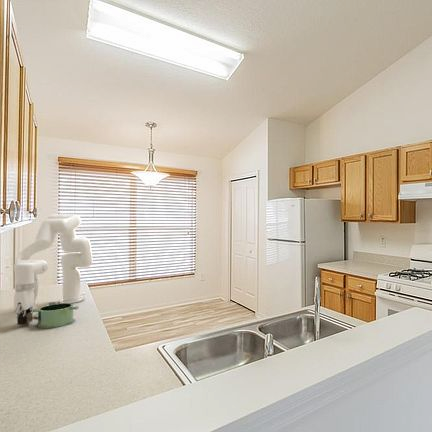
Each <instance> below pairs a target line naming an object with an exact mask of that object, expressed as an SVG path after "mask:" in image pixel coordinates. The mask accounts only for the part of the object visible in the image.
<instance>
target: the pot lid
mask: <svg viewBox="0 0 432 432" xmlns="http://www.w3.org/2000/svg"><path fill="white" fill-rule="evenodd" d="M51 304H57V303H56V301H52V302H48V305H51ZM34 318H37V319H38V312H35V314H34Z"/></svg>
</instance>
